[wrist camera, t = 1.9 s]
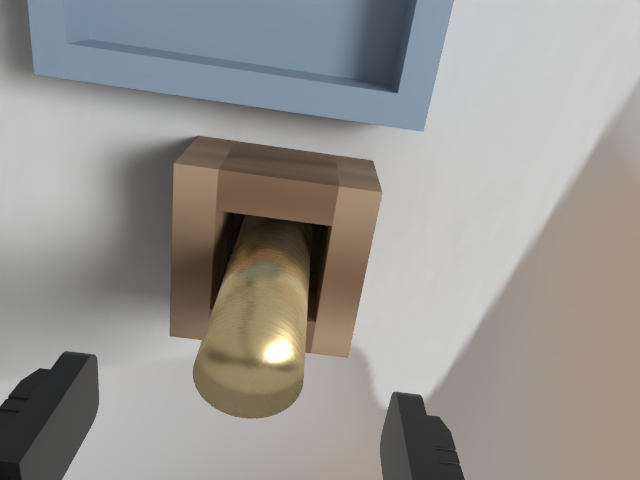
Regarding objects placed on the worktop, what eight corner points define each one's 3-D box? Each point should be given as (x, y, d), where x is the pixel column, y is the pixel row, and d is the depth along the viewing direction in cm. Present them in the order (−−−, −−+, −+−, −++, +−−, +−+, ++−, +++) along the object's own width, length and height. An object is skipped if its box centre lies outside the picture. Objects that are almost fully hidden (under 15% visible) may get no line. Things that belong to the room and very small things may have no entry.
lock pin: (247, 190, 23) (196, 325, 14) (317, 202, 23) (312, 342, 14) (239, 252, 24) (189, 410, 16) (306, 262, 25) (294, 425, 16)
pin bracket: (198, 135, 22) (173, 163, 18) (372, 160, 22) (382, 192, 19) (192, 287, 25) (169, 335, 22) (344, 306, 26) (347, 357, 22)
